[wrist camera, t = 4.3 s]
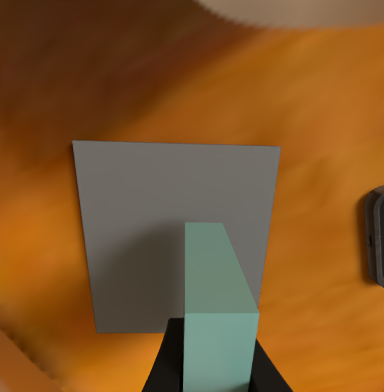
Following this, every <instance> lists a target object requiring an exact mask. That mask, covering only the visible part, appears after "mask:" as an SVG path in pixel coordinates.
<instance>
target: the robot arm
mask: <svg viewBox="0 0 384 392" xmlns="http://www.w3.org/2000/svg"><path fill="white" fill-rule="evenodd" d="M183 346H184V318H170V319H169V320H168V323H167V327H166V331H165V335H164V338H163V341H162V344H161V347H160V349H159V352H158V355H157V357H156V360H155V362H154V365H153V367H152V370H151V372H150V374H149V376H148V379H147V381H146V383H145V385H144V387H143V390H142V392H182V390H183ZM248 392H293V391H292V389H291V388H290V387H289V385H288V384H287V383H286V381H285V380H284V379H283V377H282V376H281V374H280V373H279V372H278V370H277V369H276V367H275V366H274V364H273V363H272V362H271V360H270V359H269V357H268V356H267V354H266V353H265V351H264V350H263V348H262V347H261V345H260V344H259V342H258V340H257V339H256V340H255V347H254V354H253V361H252V368H251V374H250V381H249V388H248Z"/></svg>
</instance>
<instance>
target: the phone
mask: <svg viewBox="0 0 384 392" xmlns="http://www.w3.org/2000/svg"><path fill="white" fill-rule="evenodd" d="M364 213H365V228H366V242H367V256H368V270H369V276H370V277H371V279H372V280H374V281H375V282H376V283H377V284H379V285H380V286H382V287H383V288H384V185H383V186H380V187H378V188H375V189H374V190H373V191H371V192H370V193H369V195H368V196H367V198H366V200H365V203H364ZM367 216H369V218H368V217H367ZM370 235H371V241H372V246H371V245H370Z"/></svg>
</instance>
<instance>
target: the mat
mask: <svg viewBox="0 0 384 392" xmlns="http://www.w3.org/2000/svg"><path fill="white" fill-rule="evenodd" d="M72 142H73V150H74V158H75V166H76V174H77V182H78V190H79V198H80V206H81V214H82V222H83V230H84V238H85V246H86V254H87V262H88V270H89V278H90V286H91V294H92V302H93V310H94V318H95V326H96V333H165V331H166V327H167V323H168V320H169V319H170V318H183V300H184V252H185V222H195V223H223V225H224V228H225V230H226V233H227V235H228V238H229V240H230V243H231V245H232V247H233V250H234V252H235V255H236V257H237V260H238V262H239V265H240V267H241V269H242V272H243V274H244V277H245V279H246V282H247V284H248V287H249V289H250V291H251V294H252V296H253V299H254V301H255V304H256V306H257V309H258V304H259V297H260V290H261V283H262V277H263V270H264V263H265V256H266V249H267V242H268V235H269V228H270V221H271V214H272V207H273V200H274V193H275V186H276V179H277V172H278V165H279V158H280V151H281V147H279V146H255V145H220V144H185V143H150V142H115V141H80V140H77V141H72Z"/></svg>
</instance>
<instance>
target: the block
mask: <svg viewBox="0 0 384 392" xmlns="http://www.w3.org/2000/svg"><path fill="white" fill-rule="evenodd" d="M183 318H184V346H183V390H182V392H248V388H249V381H250V374H251V368H252V361H253V354H254V347H255V340H256V333H257V327H258V320H259V311H258V309H257V306H256V304H255V301H254V299H253V296H252V294H251V291H250V289H249V287H248V284H247V282H246V279H245V277H244V274H243V272H242V269H241V267H240V265H239V262H238V260H237V257H236V255H235V252H234V250H233V247H232V245H231V243H230V240H229V238H228V235H227V233H226V230H225V228H224V225H223V223H195V222H185V252H184V300H183Z"/></svg>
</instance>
